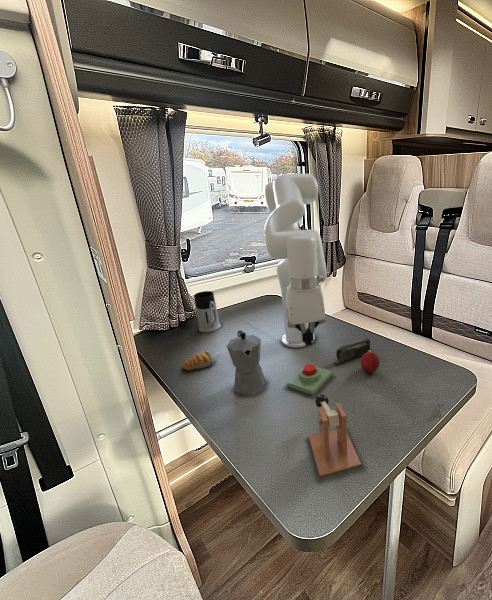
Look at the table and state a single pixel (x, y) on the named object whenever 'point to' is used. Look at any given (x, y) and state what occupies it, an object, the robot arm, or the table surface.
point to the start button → (309, 370)
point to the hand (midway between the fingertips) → (308, 343)
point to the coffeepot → (246, 363)
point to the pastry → (198, 361)
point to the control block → (309, 380)
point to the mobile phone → (352, 350)
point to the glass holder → (206, 311)
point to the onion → (370, 361)
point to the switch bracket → (333, 445)
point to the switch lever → (328, 410)
